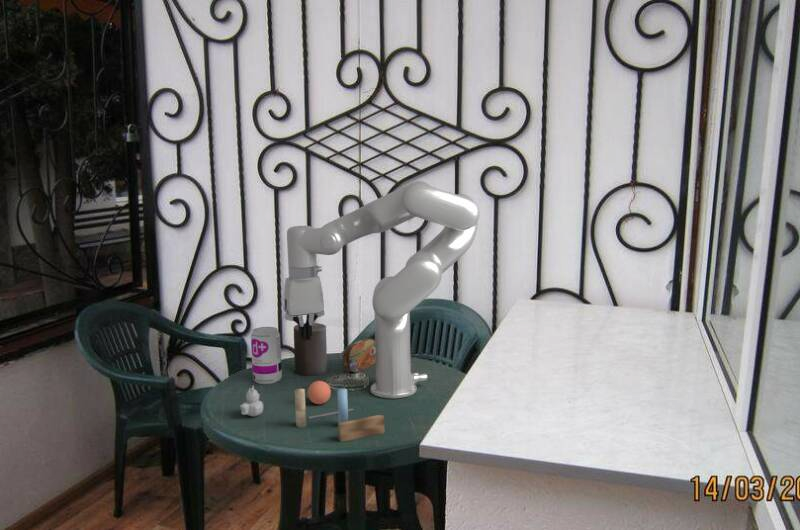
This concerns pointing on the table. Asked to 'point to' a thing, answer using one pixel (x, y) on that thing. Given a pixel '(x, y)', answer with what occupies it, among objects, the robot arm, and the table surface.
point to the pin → (342, 405)
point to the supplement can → (266, 355)
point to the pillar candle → (311, 351)
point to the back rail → (361, 428)
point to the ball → (319, 392)
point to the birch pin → (300, 408)
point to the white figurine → (252, 403)
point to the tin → (359, 355)
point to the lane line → (327, 414)
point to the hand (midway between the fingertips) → (305, 339)
